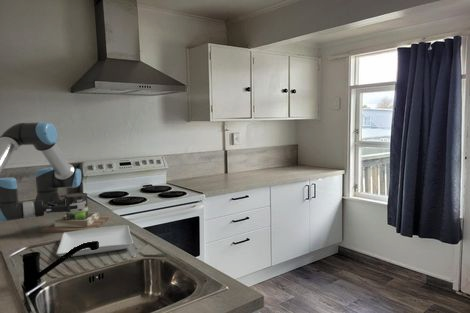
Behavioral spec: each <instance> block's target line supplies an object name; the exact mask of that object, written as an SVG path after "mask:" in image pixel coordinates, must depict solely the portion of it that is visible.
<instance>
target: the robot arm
mask: <svg viewBox="0 0 470 313" xmlns="http://www.w3.org/2000/svg"><path fill="white" fill-rule="evenodd" d="M57 132H58V131H57V129H56V126H55V125H54V124H53V123H51V122H45V121H40V122H19V123H16V124H14V125H12V126H10V127H8V128H7V129H6V130H5V131H3V133H2V134H1V135H0V175H1V174H2V172H3V170H4V168H5V167H6V165H7V163H8V162H9V161H10V159H11V157H12V155H13V153H14V152H15V151H17V150H18V149H19V148H20V146H21V147H22V146H33V147H34V149H35V150H36V151H40V152H41V153H42V155H43V156H44V158H45V159H46V161H47V162H48V164H49V166H51V167H45V168H40V169H37V170H36V171H35V184H36V185H35V186H36V196H35V200H34V201H23V202H19V194H18V193H19V191H18V184H17V179H16V178H15V177H13V176H12V177H10V176H9V177H1V178H0V222H10V221H15V220H21V219H26V220H29V219H30V218H34V217H35V218H36V217H37V218H39V217H44V216H45V212H46V213H47V214H50V213H66V212H70V210H77V209H85V203H78V204H70V205H65V197H64V198H62V197H61V196H60V192H59V189H65V188H66V189H69V188H72V189H74V188H78V187H79V186H80V185H81V182H82V170H81V169H80V168H75V167H74V165H72V164H71V163H69V162H68V161H67V159H66V157H65V156H64V154H63V153H62V151H61V148H59V146H58V145H57V141H58V137H59V136H58V133H57Z"/></svg>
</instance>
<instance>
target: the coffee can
mask: <svg viewBox="0 0 470 313" xmlns="http://www.w3.org/2000/svg"><path fill="white" fill-rule="evenodd" d="M64 198H65V205H70V204H78V203H85V209H77V210H70V212H65V215H66V219H67V220H86V219H87V218H88V213H89V207H88V206H89V205H88V204H89V203H88V193H86V192H74V193H73V192H72V193H69V194H68V193H67V194H64Z"/></svg>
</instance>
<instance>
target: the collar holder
mask: <svg viewBox="0 0 470 313" xmlns="http://www.w3.org/2000/svg"><path fill="white" fill-rule="evenodd" d="M110 217H112V216H111V215H100V212H98V211H97V212H93V211H92V212H88V218H87V219H86V220H67V219H66V214H64V216H62V217H60V218H57V219H56V220H54V223H52V224H50V225H48V226H46V227H44V228H42V229H41V230H40V232H41V233H66V232H72V231H79V230H86V229H93V228H100V226H102V225H103V224H105V223H106V222H107V221H108V220H110ZM106 220H107V221H106ZM105 221H106V222H105ZM101 224H102V225H101Z"/></svg>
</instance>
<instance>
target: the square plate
mask: <svg viewBox="0 0 470 313" xmlns="http://www.w3.org/2000/svg"><path fill="white" fill-rule="evenodd" d="M131 234H132V233H131V231H130V226H129V225H128V224H125V225H124V224H123V225H111V226H103V227H98V228H93V229H86V230H79V231H72V232H62V235H61V239H60V241H59V245H58V248H57V250H56V253H55V254H56V255H57V256H58V257H61V256H63V255H64V254H66V253H68V252H69V251H70V250H71V249H73V248H74V247H77V246H79V245H81V244H83V243H87V242H92V241H98V242H99V248H98V249H97V250H91V249H90V248H86V249H82V250H80V251H78V252H77V253H75V254H74V255H73V256H71V257H78V256H88V255H93V254H94V255H95V254H100V253H108V252H115V251H119V250H125V249H128V248H130V247H131V246H132V245H133V244H134V240H133V237H132V235H131ZM71 257H70V258H71Z"/></svg>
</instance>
